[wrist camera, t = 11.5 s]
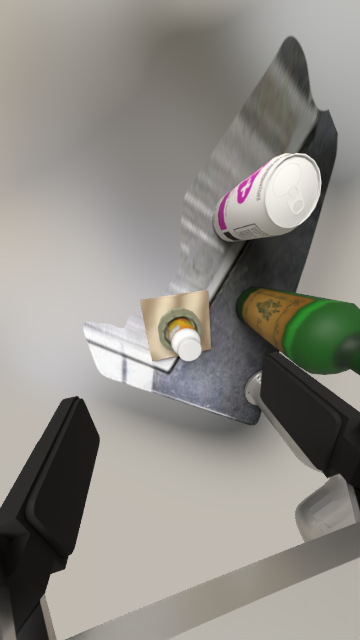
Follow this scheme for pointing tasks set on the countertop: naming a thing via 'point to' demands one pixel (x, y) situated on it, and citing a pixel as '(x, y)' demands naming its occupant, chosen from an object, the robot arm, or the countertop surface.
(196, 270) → the countertop surface
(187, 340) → the supplement bottle
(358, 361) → the bottle
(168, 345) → the collar holder
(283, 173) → the supplement can
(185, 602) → the robot arm
